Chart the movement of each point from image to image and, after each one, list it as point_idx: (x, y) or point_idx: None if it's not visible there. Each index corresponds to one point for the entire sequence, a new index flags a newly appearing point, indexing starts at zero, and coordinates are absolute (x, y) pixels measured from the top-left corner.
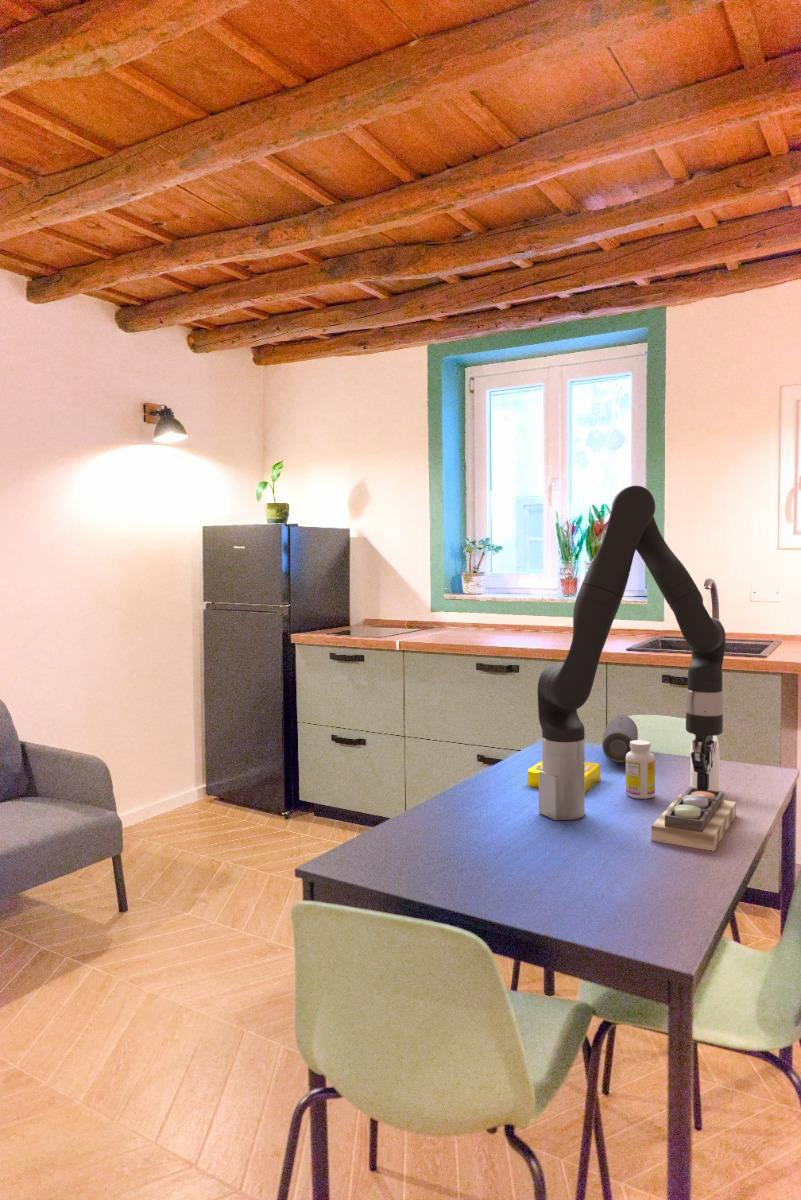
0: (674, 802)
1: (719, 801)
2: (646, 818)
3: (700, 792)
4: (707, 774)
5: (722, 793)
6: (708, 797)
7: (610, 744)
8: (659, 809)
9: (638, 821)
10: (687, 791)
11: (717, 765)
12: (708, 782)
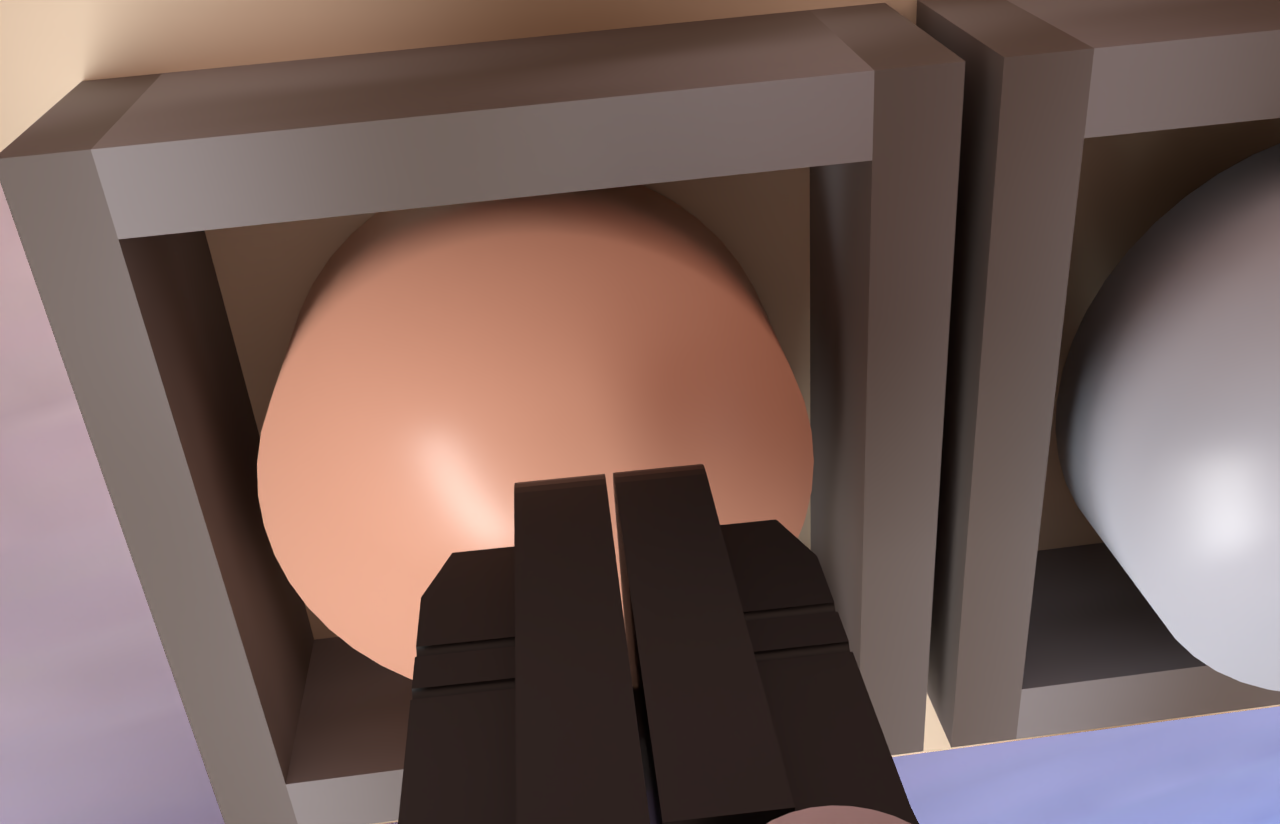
0: None
1: (636, 63)
2: (991, 790)
3: (402, 586)
4: (788, 817)
5: (193, 138)
6: (692, 338)
7: None
8: None
9: (1139, 809)
10: None
11: None
12: (616, 589)
